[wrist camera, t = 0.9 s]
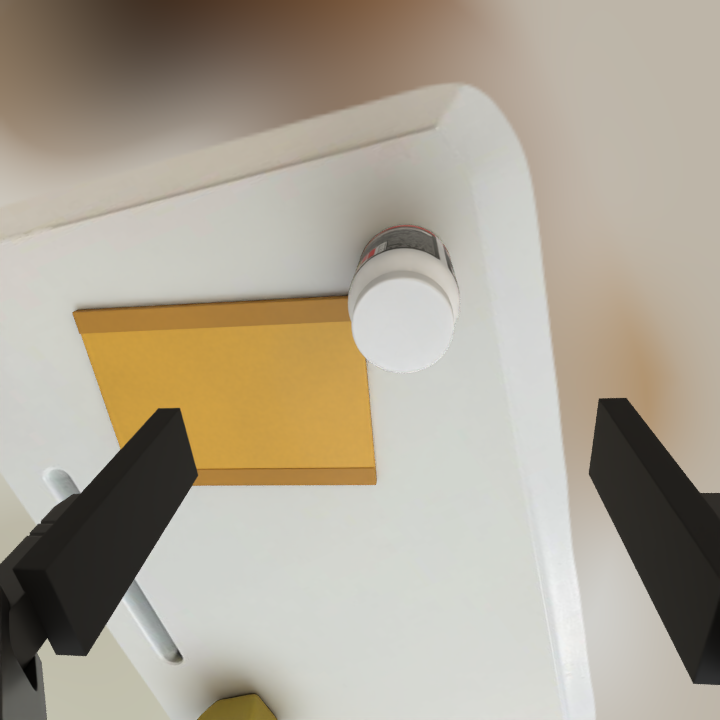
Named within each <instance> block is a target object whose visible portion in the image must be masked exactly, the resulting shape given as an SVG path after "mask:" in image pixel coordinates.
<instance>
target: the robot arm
mask: <svg viewBox="0 0 720 720" xmlns="http://www.w3.org/2000/svg"><path fill="white" fill-rule="evenodd" d="M589 475H590V477H591V479H592V481H593V483H594V485H595V487H596V489H597V491H598V493H599V495H600V497H601V499H602V501H603V503H604V505H605V507H606V509H607V511H608V513H609V515H610V517H611V519H612V521H613V523H614V525H615V527H616V529H617V531H618V533H619V535H620V537H621V539H622V541H623V543H624V545H625V547H626V549H627V551H628V553H629V555H630V557H631V560H632V562H633V563H634V566H635V568H636V570H637V571H638V574H639V576H640V577H641V579H642V581H643V584H644V586H645V587H646V590H647V592H648V594H649V596H650V598H651V600H652V601H653V604H654V606H655V608H656V610H657V612H658V614H659V616H660V618H661V620H662V622H663V624H664V626H665V628H666V630H667V632H668V634H669V636H670V637H671V640H672V641H673V644H674V646H675V648H676V650H677V652H678V654H679V656H680V658H681V660H682V662H683V664H684V666H685V668H686V670H687V672H688V673H689V676H690V677H691V679H692V682H693V684H711V685H720V493H700V492H699V491H698V490H697V489H696V487H695V486H694V485H693V483H692V482H691V481H690V480H689V478H688V477H687V476H686V474H685V473H684V472H683V470H682V469H681V468H680V467H679V465H678V464H677V463H676V462H675V460H674V459H673V458H672V456H671V455H670V454H669V452H668V451H667V450H666V449H665V447H664V446H663V445H662V444H661V442H660V441H659V440H658V438H657V437H656V436H655V434H654V433H653V432H652V430H651V429H650V428H649V427H648V425H647V424H646V423H645V422H644V420H643V419H642V418H641V416H640V415H639V414H638V412H637V411H636V410H635V409H634V407H633V406H632V405H631V403H630V402H629V401H628V400H627V398H607V399H606V398H605V399H604V398H603V399H599V402H598V409H597V417H596V425H595V432H594V439H593V447H592V454H591V461H590V469H589ZM197 477H198V472H197V468H196V465H195V461H194V457H193V454H192V450H191V446H190V443H189V439H188V435H187V432H186V428H185V424H184V420H183V417H182V413H181V409H180V408H158V409H157V410H156V411H155V412H154V414H153V415H152V416H151V417H150V418H149V419H148V420H147V421H146V422H145V423H144V425H143V426H142V427H141V428H140V429H139V430H138V431H137V432H136V433H135V434H134V436H133V437H132V438H131V439H130V440H129V441H128V442H127V443H126V444H125V445H124V447H123V448H122V449H121V450H120V451H119V452H118V453H117V454H116V455H115V456H114V458H113V459H112V460H111V461H110V462H109V463H108V464H107V465H106V466H105V467H104V469H103V470H102V471H101V472H100V473H99V474H98V475H97V476H96V477H95V478H94V479H93V481H92V482H91V483H90V484H89V485H88V486H87V487H86V488H85V489H84V490H83V492H82V493H81V494H73V495H71V496H70V497H68V498H67V499H65V500H64V501H62V502H61V503H59V504H58V505H56V506H55V507H54V508H53V509H52V510H51V511H50V512H49V513H48V514H47V515H46V516H45V517H44V519H43V520H42V521H41V524H38V525H37V526H36V527H35V528H34V529H33V530H32V531H31V532H30V535H29V536H27V537H26V538H25V539H24V540H23V541H22V542H21V543H20V544H19V545H18V546H17V547H16V548H15V549H14V550H13V552H11V554H9V556H8V557H7V558H6V559H5V560H4V561H3V562H2V563H1V564H0V720H47V715H46V705H45V694H44V683H43V672H42V662H41V660H40V658H39V656H38V654H37V652H38V650H39V648H40V647H41V646H42V645H43V643H44V642H45V640H46V639H47V638H48V640H49V642H50V644H51V646H52V648H53V649H54V651H55V653H56V655H73V656H87V654H88V653H89V651H90V649H91V648H92V646H93V644H94V643H95V641H96V639H97V638H98V636H99V635H100V633H101V632H102V630H103V628H104V627H105V625H106V624H107V622H108V620H109V619H110V617H111V616H112V614H113V612H114V611H115V609H116V607H117V606H118V604H119V603H120V601H121V599H122V598H123V596H124V595H125V593H126V591H127V590H128V588H129V586H130V585H131V583H132V582H133V580H134V578H135V577H136V575H137V574H138V572H139V570H140V569H141V567H142V566H143V564H144V562H145V561H146V559H147V557H148V556H149V554H150V553H151V551H152V549H153V548H154V546H155V545H156V543H157V541H158V540H159V538H160V537H161V535H162V533H163V532H164V530H165V528H166V527H167V525H168V524H169V522H170V520H171V519H172V517H173V516H174V514H175V512H176V511H177V509H178V507H179V506H180V504H181V503H182V501H183V499H184V498H185V496H186V495H187V493H188V491H189V490H190V488H191V487H192V485H193V483H194V482H195V480H196V478H197Z"/></svg>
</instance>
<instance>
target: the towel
mask: <svg viewBox="0 0 720 720" xmlns="http://www.w3.org/2000/svg"><path fill="white" fill-rule="evenodd" d="M73 316H74V319H75V322H76V325H77V327H78V330H79V333H80V334H81V336H82V339H83V342H84V345H85V347H86V350H87V353H88V356H89V359H90V362H91V365H92V368H93V371H94V373H95V376H96V379H97V382H98V385H99V388H100V391H101V394H102V397H103V399H104V402H105V405H106V408H107V411H108V414H109V417H110V420H111V423H112V425H113V428H114V431H115V434H116V437H117V440H118V443H119V446H120V449H122V448H123V447H124V445H125V444H126V443H127V442H128V441H129V440H130V439H131V438H132V437H133V436H134V434H135V433H136V432H137V431H138V430H139V429H140V428H141V427H142V426H143V425H144V423H145V422H146V421H147V420H148V419H149V418H150V417H151V416H152V415H153V414H154V412H155V411H156V410H157V409H158V408H180V409H181V413H182V417H183V420H184V424H185V428H186V432H187V435H188V439H189V443H190V446H191V450H192V454H193V457H194V461H195V465H196V468H197V472H198V477H197V478H196V480H195V482H194V483H193V485H192V486H201V485H376V482H377V478H376V467H375V456H374V445H373V434H372V423H371V412H370V400H369V389H368V378H367V367H366V358H365V357H364V356H363V355H362V353H361V352H360V351H359V349H358V348H357V346H356V344H355V341H354V338H353V334H352V326H351V323H352V322H351V320H350V316H349V312H348V296H330V297H311V298H292V299H273V300H255V301H236V302H217V303H198V304H179V305H160V306H141V307H122V308H103V309H84V310H76V311H74V312H73Z"/></svg>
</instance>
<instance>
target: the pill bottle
mask: <svg viewBox="0 0 720 720" xmlns="http://www.w3.org/2000/svg"><path fill="white" fill-rule="evenodd" d="M459 311H460V294H459V288H458V284H457V281H456V277H455V274H454V270H453V266H452V262H451V259H450V256H449V253H448V251H447V249H446V247H445V246H444V244H443V243H442V242H441V240H440V239H439V238H438V237H437V236H435V235H434V234H433V233H432V232H430V231H428V230H426V229H424V228H422V227H419V226H414V225H397V226H393V227H390V228H387V229H385V230H383V231H382V232H380V233H379V234H377V235H376V236H375V237H374V238H373V239H372V240H371V241H370V242H369V243H368V245H367V246H366V247H365V249H364V251H363V253H362V255H361V258H360V261H359V264H358V267H357V269H356V272H355V275H354V278H353V280H352V283H351V286H350V290H349V295H348V312H349V316H350V320H351V322H352V323H351V326H352V334H353V338H354V341H355V344H356V346H357V348H358V349H359V351H360V352H361V353H362V355H363V356H364V357H365V358H366V359H367V360H368V361H370V362H371V363H372V364H374V365H375V366H377V367H379V368H381V369H383V370H386V371H390V372H394V373H412V372H417V371H420V370H423V369H425V368H427V367H429V366H431V365H432V364H434V363H435V362H436V361H438V360H439V359H440V358H441V357H442V356H443V355H444V353H445V352H446V351H447V349H448V347H449V346H450V343H451V341H452V338H453V334H454V327H455V324H456V322H457V319H458V316H459Z"/></svg>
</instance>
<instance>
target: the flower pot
mask: <svg viewBox="0 0 720 720" xmlns="http://www.w3.org/2000/svg"><path fill="white" fill-rule="evenodd" d="M197 720H277V718H276V717H275V716H274V715H273V714H272V712H271V711H270V710H269V709H268V708H267V706H266V705H265V704H264V702H263V701H262V700H261V699H260V698H259V696H258V695H256V694H250V695H245V696H240V697H235V698H229V699H223V700H218V701H217V702H215V703H214V704H213V705H212V706H210V707H209V708H208V709H207V710H206V711H205V712H204V713H203V714H202V715H201V716H200V717H199V718H198V719H197Z"/></svg>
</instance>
